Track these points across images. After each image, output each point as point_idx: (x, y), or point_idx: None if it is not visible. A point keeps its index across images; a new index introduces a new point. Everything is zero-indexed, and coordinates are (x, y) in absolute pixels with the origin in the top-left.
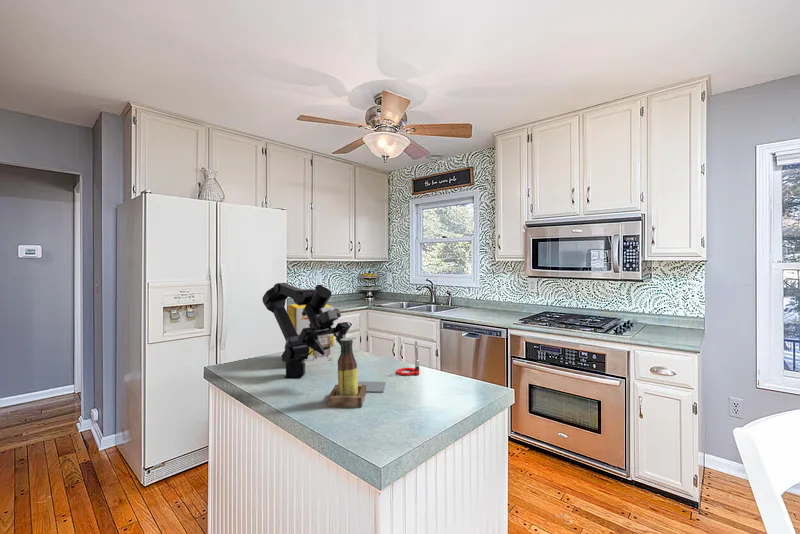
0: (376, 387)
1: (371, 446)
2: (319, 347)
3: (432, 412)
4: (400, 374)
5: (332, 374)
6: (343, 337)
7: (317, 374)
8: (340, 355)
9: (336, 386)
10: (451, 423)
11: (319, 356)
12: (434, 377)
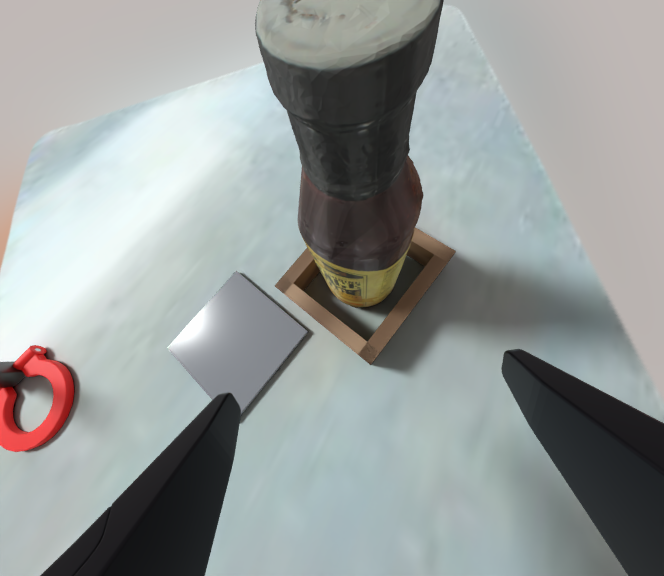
0: (229, 314)
1: (437, 49)
2: (628, 412)
3: (241, 115)
4: (71, 391)
5: None
6: (94, 562)
7: None
8: (408, 173)
9: (377, 340)
10: (253, 68)
11: None
12: (38, 297)
